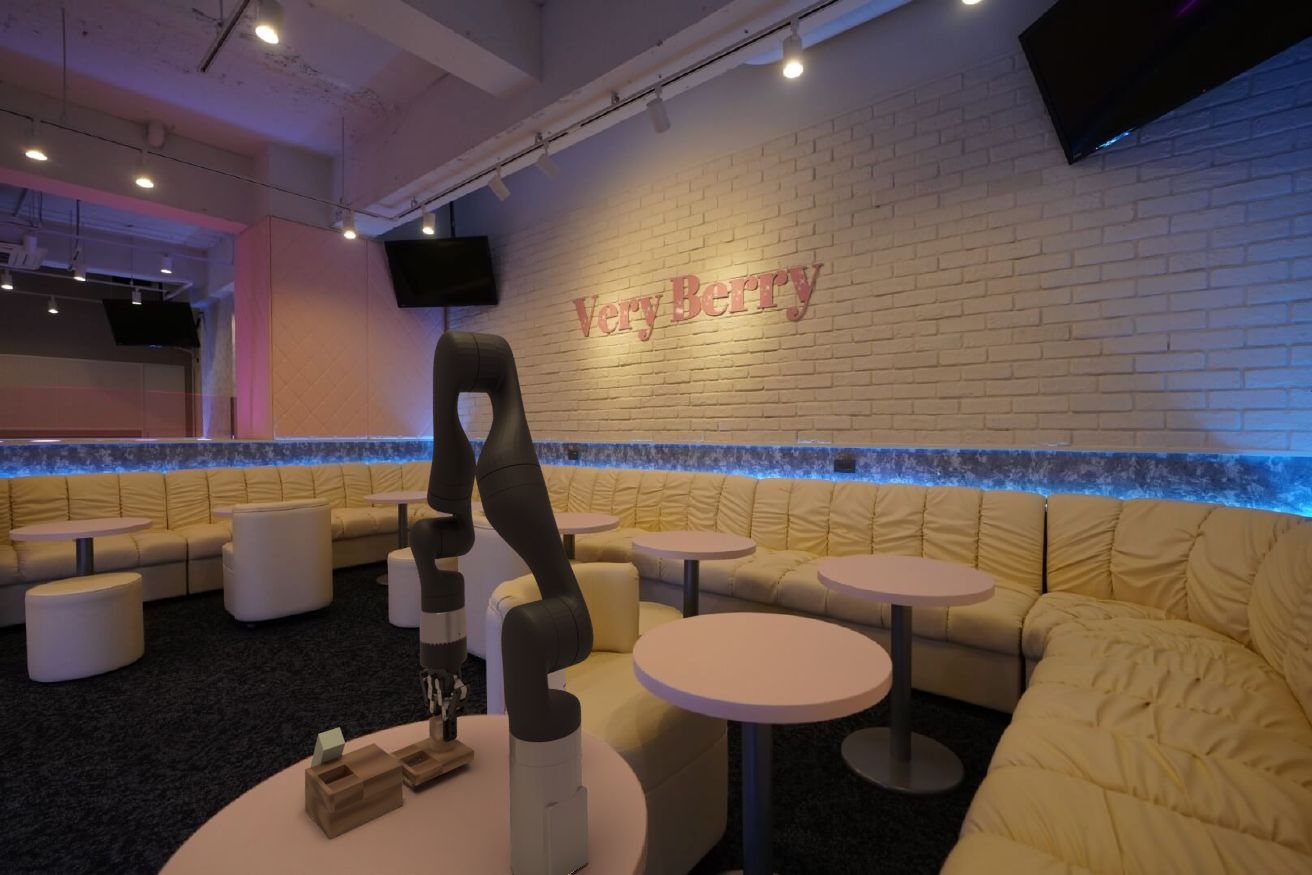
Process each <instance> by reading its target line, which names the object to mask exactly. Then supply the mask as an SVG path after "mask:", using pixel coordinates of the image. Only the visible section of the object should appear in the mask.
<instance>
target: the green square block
mask: <svg viewBox="0 0 1312 875" xmlns="http://www.w3.org/2000/svg"><path fill="white" fill-rule="evenodd" d="M316 738H317V739H316V742H315V746H314V751H313V755H312V759H311V762H310V764H311V765H310V767H313V766H315V765H318V764H320V763H323V762H326V761H328V760H331V759H334V758H336V757H339V756H342V755H343V753H344V749H345V746H346V742H345V739H344V736H343V733H342V730H341V728H340V726H339V727H336V728H334V729H332V728H331V729H330V730H326V731H323V732H321V733H318V735H317V737H316Z"/></svg>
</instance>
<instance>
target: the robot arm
mask: <svg viewBox="0 0 1312 875" xmlns="http://www.w3.org/2000/svg"><path fill="white" fill-rule="evenodd" d="M518 374H519V373H518V370H517V364H516V360H515V356H514V354H513V349H512V348H511V345H510V344H509V342H508V341H507V340H506V338H505V337H503V336H501V335H497V334H493V333H486V332H485V333H482V332H472V331H464V330H447V331H445V332H443V333H442V334H440V337H439V338H438V340H437V343H436V345H435V350H434V354H433V363H432V432H433V434H432V436H433V438H432V440H433V442H432V458H431V465H430V472H429V477H428V479H429V480H428V485H427V486H428V487H427V492H426V501H427V502H426V503H427V504H428V506H429V508H430V509H432V510H434V511H435V512H438V513H442V514H448V515H449V516H439V517H437V516H436V517H427V518H426V517H425V518H421V519H417V521H415V522H414V523H413V525H411V528H410V531H409V533H408V543H409V549H410V551H411V554H412V557H413V560H414V562H415V563H414V564H415V566H416V569H417V573H418V578H419V583H420V584H419V585H420V605H421V606H420V607H421V608H420V611H421V612H420V619H419V663H420V666H422V667H423V668H424V669H423V670H420V671H419V673H418V675H419V680H420V685H421V690H422V696H423V700H424V701H423V702H424V705H425V707H429V711H430V713H431V714H432V717H435V716H438V715H440V714H442V715H443V740H444V741H445V742H449V741H452V740H454V739H457V737H458V718H459V717H462V716H465V714H466V711H467V707H468V703H469V699H470V696H471V691H472V686H471V685H470V683H469V684H465V685H464V683H463V682H462V679H463V678H462V676H463V675H462V672H461V666H462V664H463V663H464V662H466V660H467V658H468V634H467V633H468V629H467V628H468V625H467V623H468V622H467V611H466V599H465V598H466V597H465V596H466V594H465V589H466V585H465V583H466V582H465V576H464V575H463V573H461V572H459V571H457V570H446V569H445V570H444V569H439V568H438V567H437V564H436V560H440V559H449V558H456V557H457V558H459V557H463V556H466V555H467V554H468V553H469V552H470V551H471V550H472V548H473V547H474V546H475V542H476V531H475V527H474V521H473V520H474V519H473V511H472V496H473V491H474V485H475V481H476V485H477V490H478V493H479V497H480V501H481V506H482V509H483V513H484V516H485V518H486V520H487V522H488V523H489V525H490V526H491V527H492V528H493V530H494V531H495V532H496V534H498V535H499V537H501V538H502V540H503V541H505V543H506V544H507V545H508V546H509V547H510V548H511V549H513V551H514V552H515V553H516V554H517V555H518V556H519V557H520V558H521V559H522V560H523V562H524V563H525V564H526V565H527V566H528V569H529V570H530V572H531V574H532V575H533V577H534V580H535V583H536V585H537V587H538V590H539V594H540V597H541V599H539V600H534V601H530V602H525V603H521V604H519V605H515V606H513V607H512V608H510V609H509V610H508V611H507V613H506V614H505V616H504V618H503V622H502V626H501V632H500V633H501V634H500V648H501V661H502V662H501V663H502V672H503V673H502V674H503V676H502V678H503V696H504V704H505V708H506V711H507V717H508V745H509V746H508V750H509V751H508V752H509V753H508V759H509V761H508V763H509V764H508V765H509V767H508V768H509V769H508V770H509V773H508V774H509V833H510V834H509V835H510V836H509V837H510V838H509V839H510V840H509V841H510V869H511V872H512V873H513V875H568V874H570V873H571V872H573V871H575V870H577V869H578V868H580V867H581V868H583V867H584V866H585V865H587V864H588V863H589V827H588V826H589V825H588V823H589V822H588V818H589V817H588V815H589V814H588V813H589V812H588V788H587V787H586V786H584V785H583V771H582V770H583V765H582V764H583V762H582V761H583V757H582V756H583V754H582V749H583V748H582V706H581V702H580V699H579V698H578V697H577V696H576V694H573V693H571V692H568V691H567V690H566V691H563V690H558V689H549V686H548V674H550V673H553V672H556V671H559V670H561V669H564V668H566V669H567V668H570V667H572V666H576V665H578V664H581V663H582V662H583V663H584V661H587V659H588V658H589V656H590V655H591V653H592V651H593V647H594V639H595V638H594V636H595V635H594V627H593V622H592V619H591V615H590V611H589V608H588V605H587V603H586V600H585V598H584V595H583V592H582V590H581V587H580V584H579V582H578V580H577V578H576V575H575V572H574V570H573V568H572V565H571V562H570V560H569V558H568V554H567V552H566V549H565V545H564V543H563V540H562V537H561V534H560V531H559V527H558V525H557V521H556V517H555V514H554V510H553V509H552V508H553V507H552V504H551V499H550V496H549V491H548V487H547V484H546V480H545V477H544V473H543V471H542V467H541V463H540V461H539V458H538V456H537V453H536V448H535V445H534V442H533V439H532V435H531V431H530V427H529V423H528V420H527V416H526V411H525V407H524V401H523V397H522V391H521V386H520V380H519V375H518ZM460 393H471V394H473V393H475V394H476V393H478V394H479V393H480V394H487V396H488V397H489V399H490V402H491V403H490V404H491V409H492V421H491V426H490V428H489V431H488V435H487V437H486V439H485V441H484V444H483V446H482V448H481V450H480V453H479V456H478V459H477V458H476V454H475V451H474V448H473V446H472V444H471V442H470V439H469V437H468V436H467V434H466V432H465V430H464V428H463V425H462V422H461V420H460V417H459V410H458V408H459V397H460ZM586 863H587V864H586ZM584 864H585V865H584ZM583 865H584V866H583ZM582 866H583V867H582ZM581 868H580V869H581ZM578 870H579V869H578ZM578 870H577V871H578Z"/></svg>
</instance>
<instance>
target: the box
mask: <svg viewBox="0 0 1312 875" xmlns="http://www.w3.org/2000/svg"><path fill="white" fill-rule="evenodd" d="M304 794H305V795H304V796H305V797H304V798H305V800H304V801H305V802H304V804H305V808H304V810H305V812H306V813H307V812H308V813H309V814H308V813H307V814H308V816H310V817H311V819H312V818H313V819H312V820H313V821H314V822H315V824H316V825H317V826H319V828H320V830H321V831H323V833H324V834H325V835H326V836H327V838H329V840H333V839H334V838H336V837H339V836H340V835H343V834H345V833H347V832H349V831H351V830H353V829H355V828H357V827H359V826H361V825H364V824H366V823H368V822H370V821H372V820H375V819H376V818H379V817H381V816H382V815H385V814H387V813H389V812H392V811H393V810H395V809H397V808H400V807H402V806H403V804H404V803H403V775H402V764H400V763H399V762H398V761H397V760H395V759H394V758H393V757H391V756H390V755H389V753H387V752H386V751H385V750H384V749H383V748H381V747H380V746H378V745H377V744H376V743H370V744H368V745H366V746H363V747H360V748H358V749H356V750H353V751H350V752H348V753H345V754H342V756H339V757H336V758H334V759H331V760H328V761H326V762H323V763H320V764H318V765H315V766H313V767H311V766H310V767H307V768H305V769H304Z"/></svg>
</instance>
